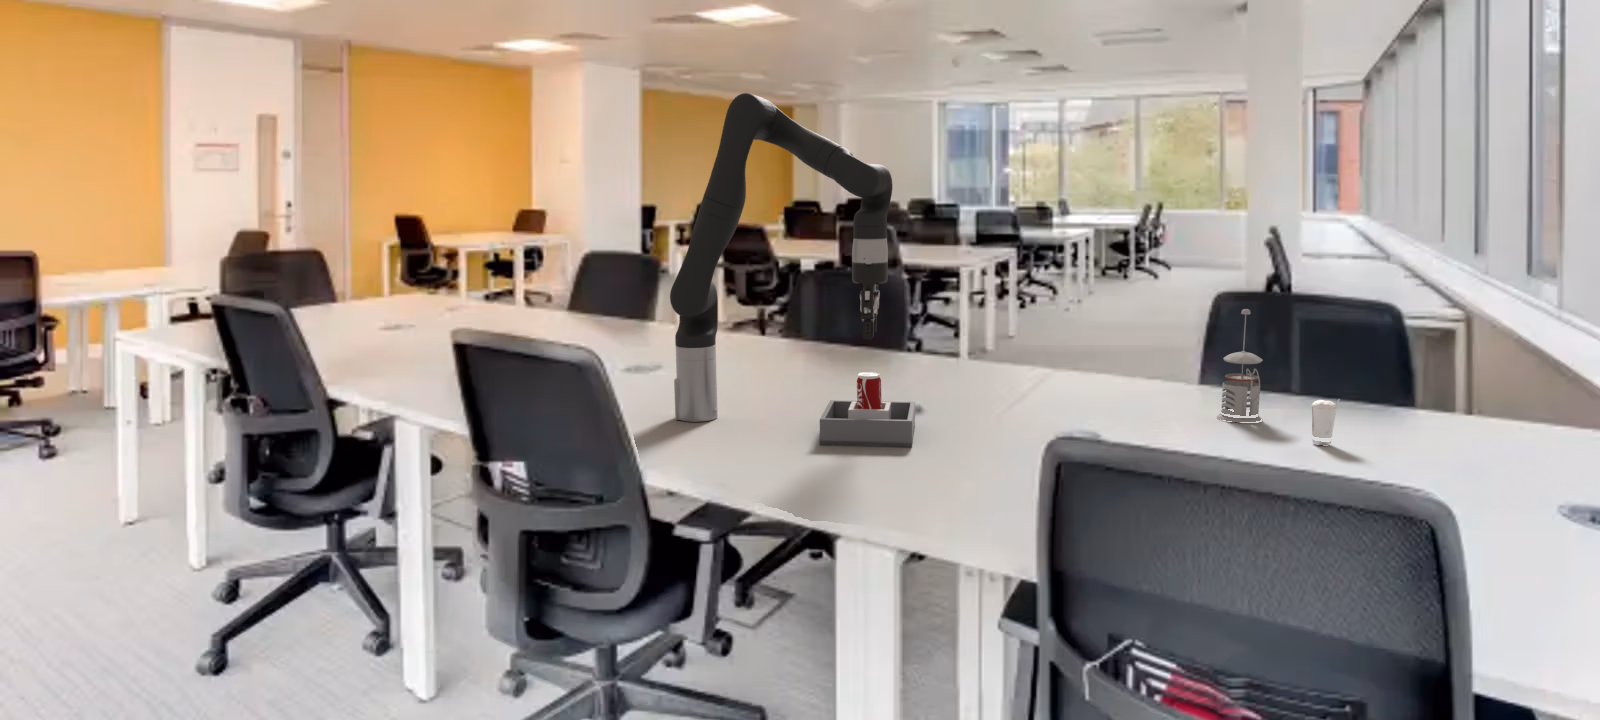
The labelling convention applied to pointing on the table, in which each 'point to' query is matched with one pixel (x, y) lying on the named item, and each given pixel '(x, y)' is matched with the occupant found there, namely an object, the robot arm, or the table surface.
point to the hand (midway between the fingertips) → (869, 336)
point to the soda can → (869, 391)
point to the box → (868, 424)
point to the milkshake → (1323, 420)
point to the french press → (1241, 386)
